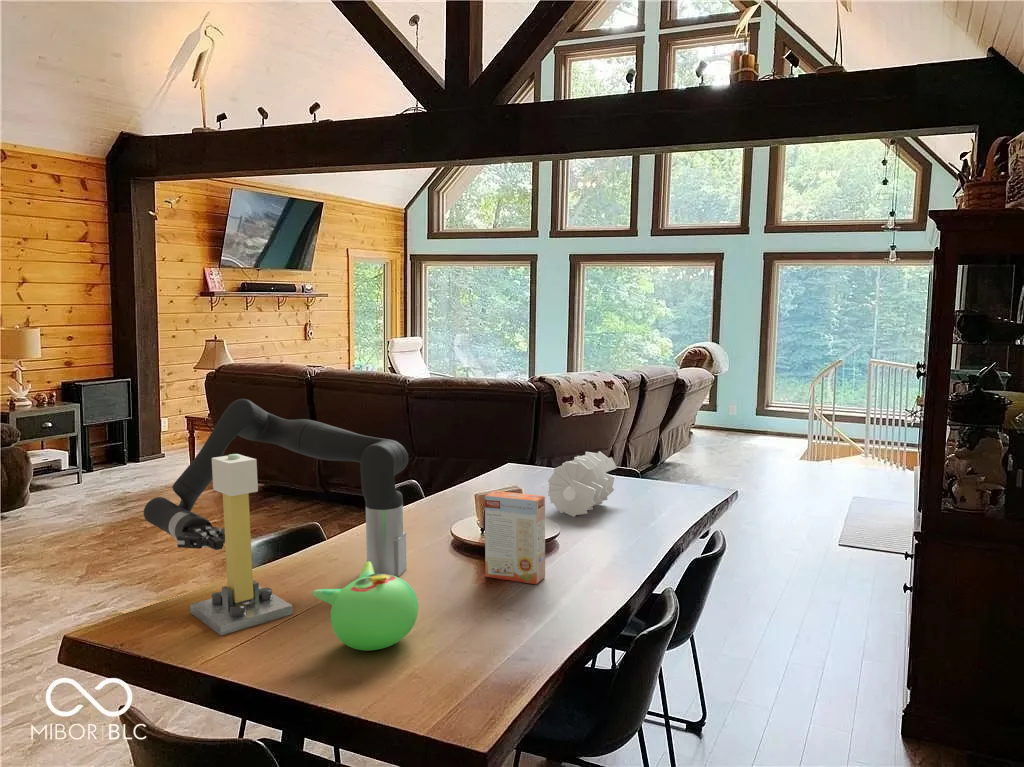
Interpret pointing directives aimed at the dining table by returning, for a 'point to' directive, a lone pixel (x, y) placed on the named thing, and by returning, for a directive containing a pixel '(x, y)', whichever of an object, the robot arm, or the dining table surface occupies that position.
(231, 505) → the post
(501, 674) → the dining table surface
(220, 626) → the tripod base plate
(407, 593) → the green horned blob
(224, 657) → the dining table surface
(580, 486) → the spiral staircase
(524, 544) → the cracker box
